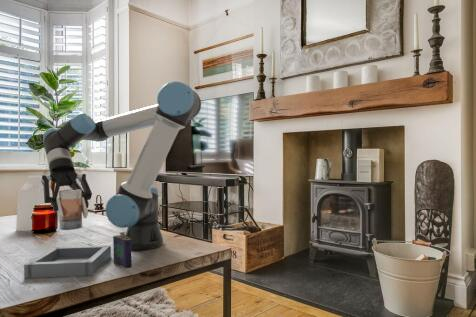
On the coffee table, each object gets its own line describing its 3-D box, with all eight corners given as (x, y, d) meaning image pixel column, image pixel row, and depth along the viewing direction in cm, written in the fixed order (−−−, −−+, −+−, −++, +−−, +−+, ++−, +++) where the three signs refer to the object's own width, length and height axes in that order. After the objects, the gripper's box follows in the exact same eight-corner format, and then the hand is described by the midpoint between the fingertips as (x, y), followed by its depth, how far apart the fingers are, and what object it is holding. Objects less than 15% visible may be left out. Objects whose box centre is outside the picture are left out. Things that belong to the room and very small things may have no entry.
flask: (111, 262, 111) (111, 230, 111) (120, 260, 113) (120, 229, 113) (126, 269, 105) (126, 234, 105) (134, 266, 107) (134, 233, 107)
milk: (54, 226, 173) (54, 175, 173) (39, 231, 161) (38, 176, 161) (32, 225, 174) (32, 175, 174) (16, 230, 162) (15, 177, 162)
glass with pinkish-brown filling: (80, 225, 112) (79, 189, 112) (83, 228, 107) (83, 190, 107) (58, 227, 108) (57, 190, 108) (60, 231, 103) (60, 191, 103)
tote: (110, 256, 118) (110, 245, 118) (92, 275, 99) (92, 262, 99) (54, 258, 116) (54, 247, 116) (24, 278, 97) (24, 264, 97)
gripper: (87, 170, 125) (103, 220, 113) (27, 172, 113) (36, 228, 101) (92, 156, 121) (108, 206, 109) (29, 156, 109) (39, 213, 96)
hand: (73, 216), depth 105 cm, fingers closed on glass with pinkish-brown filling, 6 cm apart
